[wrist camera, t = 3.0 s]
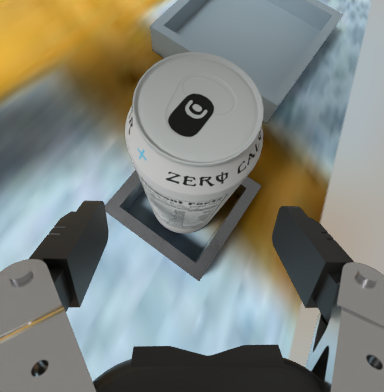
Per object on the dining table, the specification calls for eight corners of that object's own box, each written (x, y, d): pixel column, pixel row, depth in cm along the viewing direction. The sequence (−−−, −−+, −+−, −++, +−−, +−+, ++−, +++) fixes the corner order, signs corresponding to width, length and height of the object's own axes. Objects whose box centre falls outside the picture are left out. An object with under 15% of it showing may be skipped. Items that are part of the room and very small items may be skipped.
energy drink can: (225, 197, 23) (307, 92, 9) (191, 247, 22) (223, 217, 7) (177, 164, 24) (180, 16, 10) (140, 210, 22) (78, 116, 8)
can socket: (110, 214, 22) (102, 208, 20) (173, 139, 25) (173, 126, 22) (196, 279, 21) (199, 281, 19) (252, 193, 24) (261, 185, 21)
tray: (152, 50, 28) (150, 26, 25) (225, -21, 32) (230, -49, 29) (266, 123, 26) (277, 106, 23) (327, 38, 30) (343, 14, 27)
